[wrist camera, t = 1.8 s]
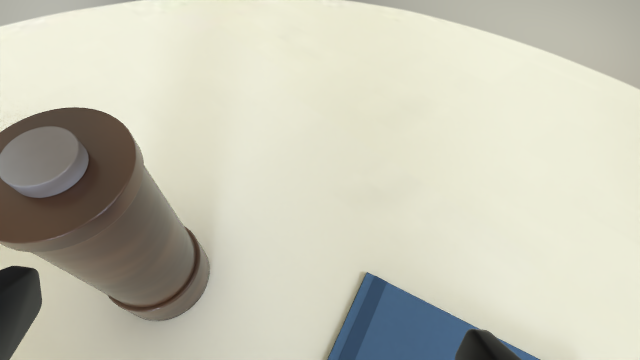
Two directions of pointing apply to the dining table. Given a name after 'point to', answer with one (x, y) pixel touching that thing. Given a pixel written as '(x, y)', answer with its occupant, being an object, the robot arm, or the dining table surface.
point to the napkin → (399, 327)
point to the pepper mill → (97, 212)
